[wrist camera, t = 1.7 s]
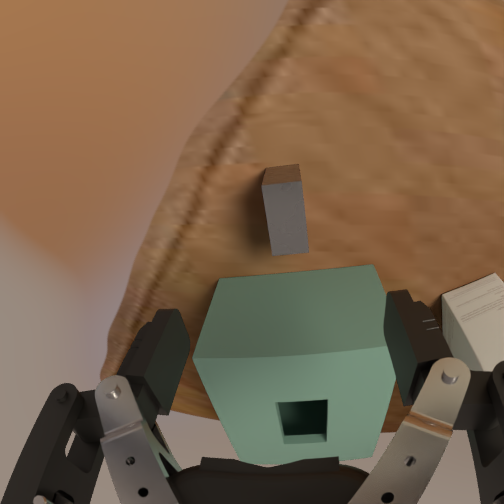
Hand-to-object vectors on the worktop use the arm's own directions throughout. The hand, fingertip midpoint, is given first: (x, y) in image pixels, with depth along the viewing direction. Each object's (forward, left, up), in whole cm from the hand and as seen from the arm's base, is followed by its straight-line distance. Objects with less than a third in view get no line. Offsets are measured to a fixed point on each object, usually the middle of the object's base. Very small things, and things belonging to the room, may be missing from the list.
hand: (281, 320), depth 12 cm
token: (0, 0, -15) cm, 15 cm away
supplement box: (-19, +14, -15) cm, 28 cm away
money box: (0, +16, -15) cm, 22 cm away
